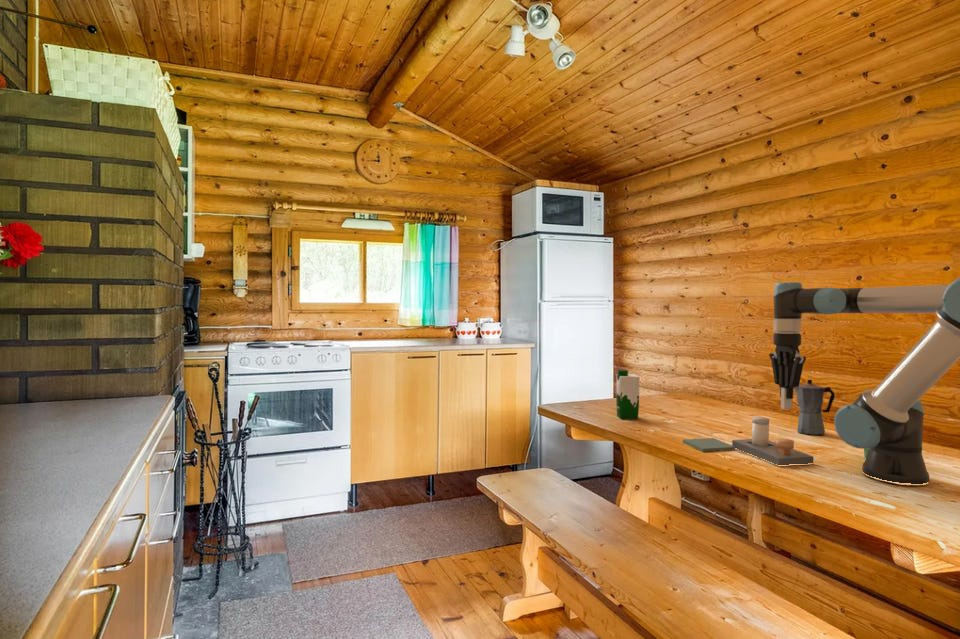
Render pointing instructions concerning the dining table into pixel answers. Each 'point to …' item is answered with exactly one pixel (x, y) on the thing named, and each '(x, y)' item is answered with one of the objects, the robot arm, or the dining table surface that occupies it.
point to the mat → (708, 444)
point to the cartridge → (760, 431)
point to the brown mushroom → (784, 446)
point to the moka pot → (812, 407)
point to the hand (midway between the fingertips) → (786, 408)
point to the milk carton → (627, 395)
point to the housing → (772, 453)
